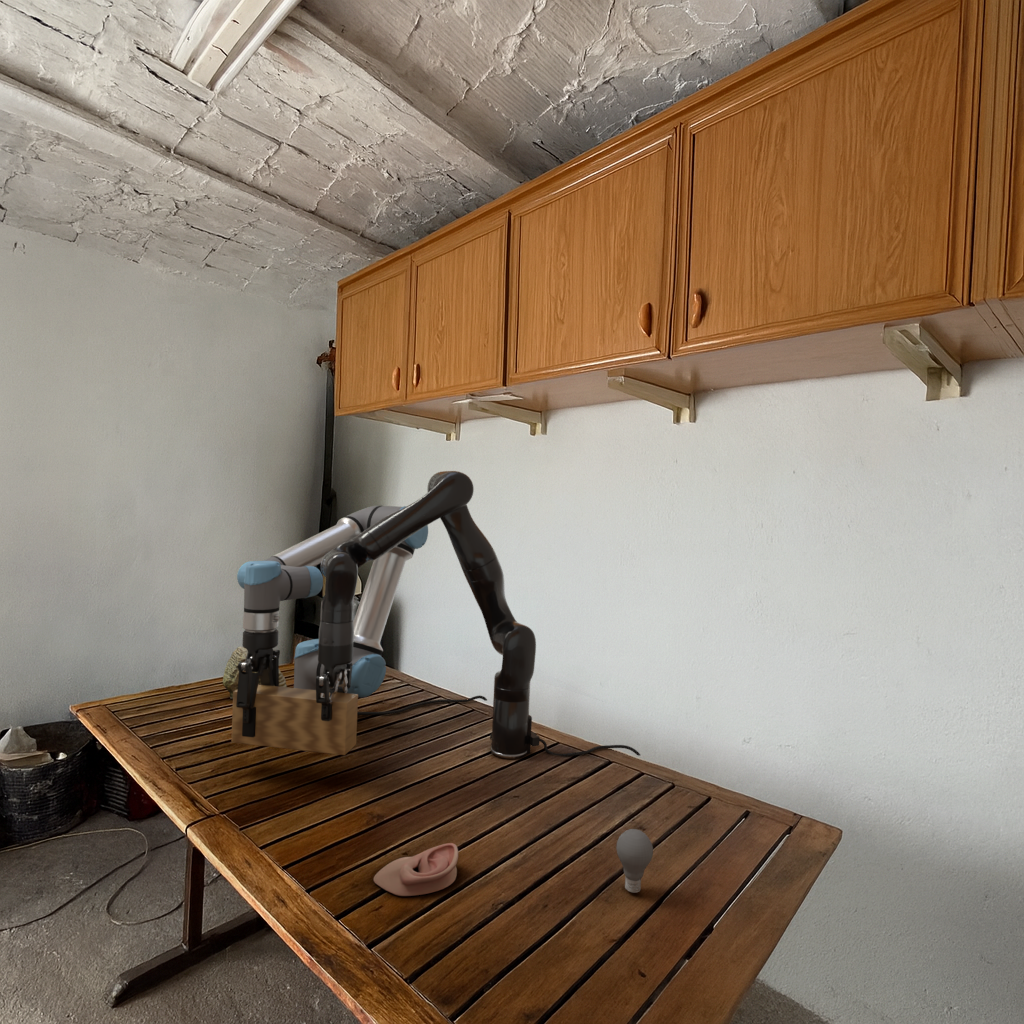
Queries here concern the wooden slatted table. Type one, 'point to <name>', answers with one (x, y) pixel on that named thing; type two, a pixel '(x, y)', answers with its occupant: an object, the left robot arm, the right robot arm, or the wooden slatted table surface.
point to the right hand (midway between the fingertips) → (333, 714)
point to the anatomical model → (420, 872)
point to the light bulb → (634, 857)
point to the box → (299, 721)
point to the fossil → (233, 673)
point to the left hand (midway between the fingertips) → (257, 730)
